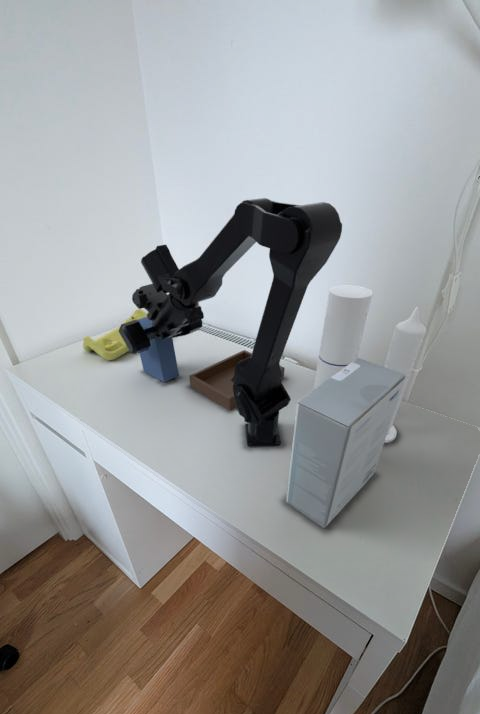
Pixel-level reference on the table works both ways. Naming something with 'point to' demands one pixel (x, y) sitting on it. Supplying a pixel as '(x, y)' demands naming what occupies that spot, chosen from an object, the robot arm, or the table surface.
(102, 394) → the table surface
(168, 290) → the robot arm
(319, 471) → the hard drive box
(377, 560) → the table surface
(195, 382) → the tray
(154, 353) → the back pad
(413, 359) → the white nozzle bottle
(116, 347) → the plastic component
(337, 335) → the cylindrical container
